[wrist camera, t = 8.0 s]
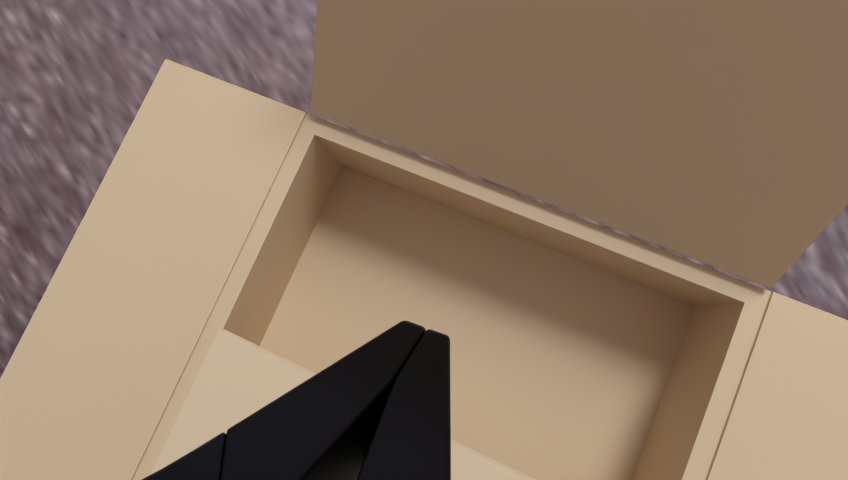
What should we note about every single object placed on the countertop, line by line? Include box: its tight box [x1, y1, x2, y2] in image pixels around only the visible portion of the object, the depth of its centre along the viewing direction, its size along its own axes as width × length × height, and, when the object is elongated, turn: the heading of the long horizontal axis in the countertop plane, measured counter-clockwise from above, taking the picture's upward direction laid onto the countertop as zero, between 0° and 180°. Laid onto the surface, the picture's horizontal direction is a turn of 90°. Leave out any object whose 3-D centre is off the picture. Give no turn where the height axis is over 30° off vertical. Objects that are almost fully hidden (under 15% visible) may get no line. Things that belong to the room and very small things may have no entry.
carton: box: [0, 59, 848, 480], centre depth 17 cm, size 16×28×4 cm, turn 67°
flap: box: [310, 0, 848, 288], centre depth 14 cm, size 8×16×1 cm
